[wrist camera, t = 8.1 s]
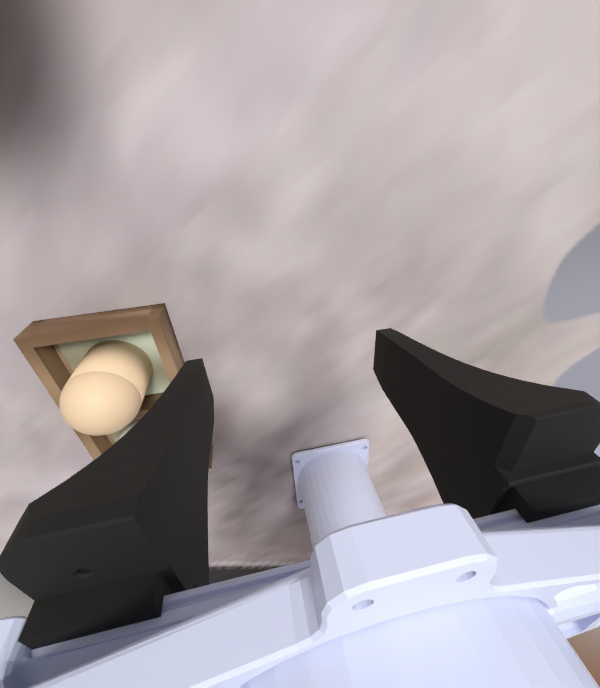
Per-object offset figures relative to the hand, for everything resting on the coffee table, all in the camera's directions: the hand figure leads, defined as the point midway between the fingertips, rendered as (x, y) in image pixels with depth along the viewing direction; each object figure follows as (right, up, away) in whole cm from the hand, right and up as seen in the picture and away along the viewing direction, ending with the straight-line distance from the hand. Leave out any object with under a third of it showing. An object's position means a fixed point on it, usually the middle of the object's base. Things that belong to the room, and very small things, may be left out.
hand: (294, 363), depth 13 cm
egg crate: (-12, -3, +11) cm, 17 cm away
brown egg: (-12, -1, +9) cm, 15 cm away
